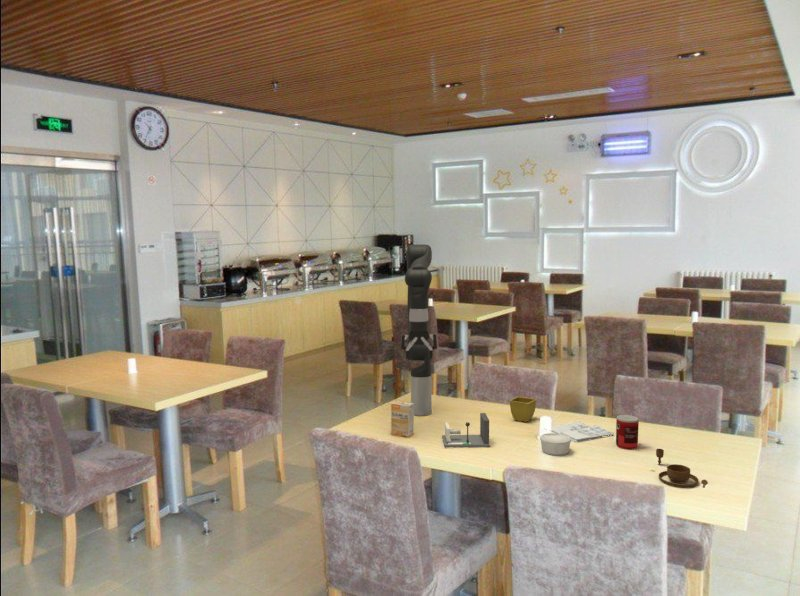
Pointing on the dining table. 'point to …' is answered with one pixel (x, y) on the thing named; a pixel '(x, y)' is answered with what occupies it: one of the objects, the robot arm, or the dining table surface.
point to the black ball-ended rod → (467, 431)
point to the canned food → (627, 431)
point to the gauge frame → (471, 436)
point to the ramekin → (555, 443)
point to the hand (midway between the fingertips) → (419, 359)
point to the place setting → (677, 474)
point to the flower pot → (522, 408)
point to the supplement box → (402, 418)
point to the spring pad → (450, 432)
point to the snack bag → (580, 431)
